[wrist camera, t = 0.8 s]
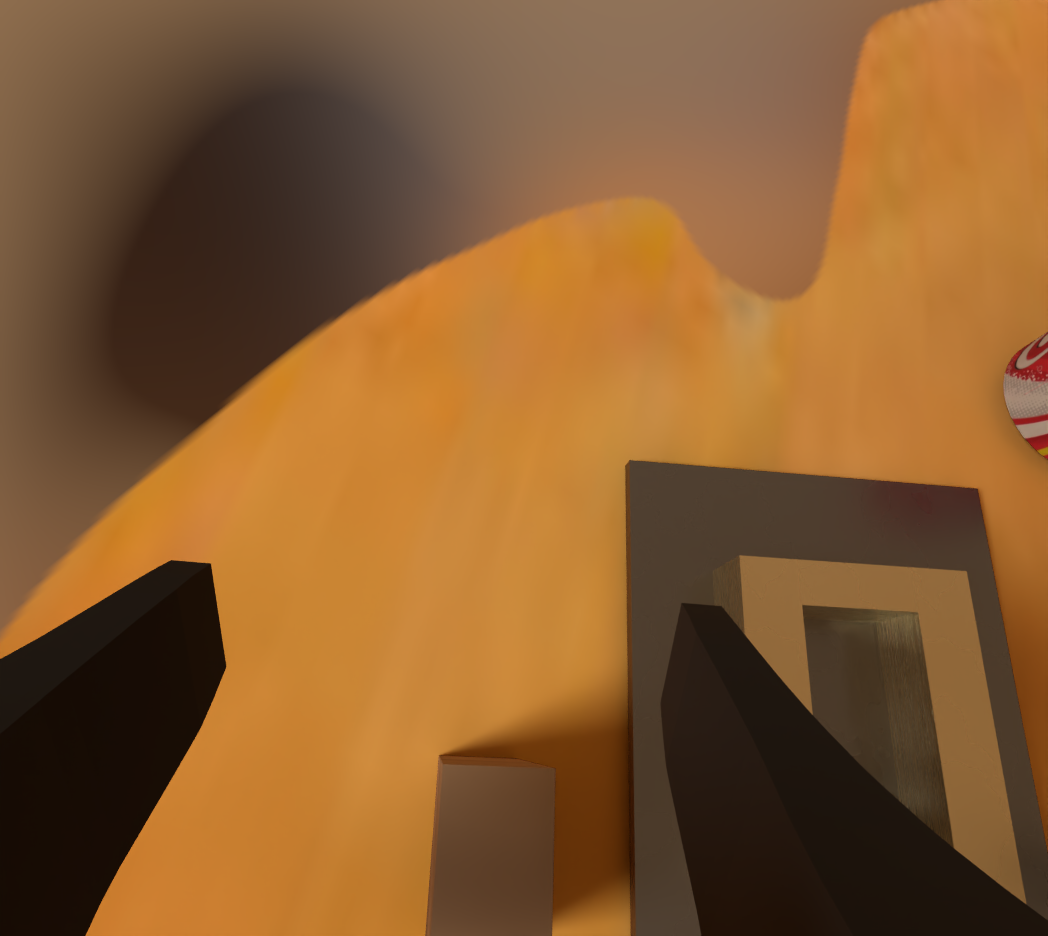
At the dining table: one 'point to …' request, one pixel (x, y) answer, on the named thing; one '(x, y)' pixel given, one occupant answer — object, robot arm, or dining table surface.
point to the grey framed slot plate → (834, 653)
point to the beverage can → (1029, 392)
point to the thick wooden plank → (492, 848)
